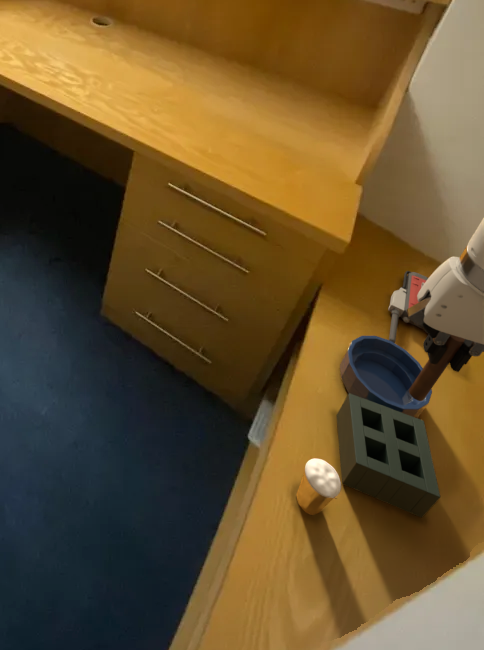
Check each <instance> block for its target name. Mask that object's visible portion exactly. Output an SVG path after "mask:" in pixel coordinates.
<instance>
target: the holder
mask: <svg viewBox="0 0 484 650" xmlns="http://www.w3.org/2000/svg"><path fill="white" fill-rule="evenodd" d="M336 425H337V427H336V428H337V436H338V437H337V439H338V449H339V461H340V463H339V464H340V473H341V485H344V486H347V487H348V488H351V489H353V490H355V491H358V492H360V493H362V494H365V495H368V496H370V497H371V498H374V499H377V500H379V501H381V502H384V503H386V504H389V505H391V506H394V507H395V508H398V509H400V510H402V511H405V512H407V513H409V514H412V515H414V516H416V517H419V518H423V517H424V516H425V515H426V514H427V513H428V512H429V511H430V510H431V508H433V506H434V505H435V504H436V503H437V502H438V501H439V499H440V498H441V493H440V489H439V483H438V479H437V475H436V470H435V466H434V462H433V456H432V452H431V447H430V443H429V442H430V441H429V438H428V434H427V428H426V424H425V420H423V419H420V418H419V417H418V418H415V417H412V416H409V415H407V414H404V413H401V412H399V411H396V410H393V409H391V408H388V407H385V406H383V405H380V404H377V403H375V402H372V401H369V400H366V399H364V398H361V397H358V396H355V395H353V394H350V393H348V394H347V396H346V398H345V399H344V401H343V403H342V404H341V406H340V408H339V409H338V412H337V413H336Z"/></svg>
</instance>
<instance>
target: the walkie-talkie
mask: <svg viewBox="0 0 484 650" xmlns="http://www.w3.org/2000/svg"><path fill="white" fill-rule="evenodd" d="M428 278H429V277H428V276H425V275H424V274H421V273H418V272H415V271H410V270H406V271H405V272H404V274H403V282H402V286H401V287H400V288H399V289H397V290H394V291H393V293H392V294H391V296H390V301H389V306H388V312H390V313H391V321H390V328H389V334H388V335H389V336H388V340H390V341H392V342H393V343H395V344H396V342H397V340H396V339H397V334H398V333H397V331H398V323H399V318H401V320H403V322H404V323H406V324H407V323H409V324H411V325H413V326H415V327H418V328H420V329H422V330H423V331H424V332H425V333H426V334H428V333H427V331H426V330H425V329H424V327H423V326H420V325H418V324H417V323H415V322H413V321H411V320H410V319H409V318H408V313H407V309H408V308H410V307H412V306H413V305H415V304H417V303H419V302H418V299H417V295H418V293H419V291H420V289H421V288H422V286H423V285H424V284H425V282H426V281H427V280H428Z"/></svg>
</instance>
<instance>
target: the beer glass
mask: <svg viewBox="0 0 484 650" xmlns="http://www.w3.org/2000/svg"><path fill="white" fill-rule="evenodd" d="M341 491H342V481H341V479H340V476H339V473H338V472H337V471H336V469H335V467H334V466H332V465H331V464H330V463H328V462H327V461H326V460H325V459H321V458H314V457H313V458H310V459H309V460H308V461H307V462H306V463H305V467H304V470H303V473H302V477H301V481H300V483H299V486H298V489H297V492H296V494H295V496H296V500H297V504H298V506H299V507H300V508H301V509H302V511H303V512H305V513H306V514H309V515H311V516H314V515H318V514H319V513H321V512H322V511H323V510H324V509H325V508H326V507H327V505H329V504H330V503H331V502H332V501H333V500H336V499H338V498H337V497H338V496H339V495H340V493H341Z"/></svg>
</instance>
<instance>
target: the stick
mask: <svg viewBox="0 0 484 650" xmlns="http://www.w3.org/2000/svg"><path fill="white" fill-rule="evenodd" d="M464 341H465V339H464V338H461V337H457V336H454V335H450V337H449V338H448V340H447V341H446V343H445V344H446V347H447V350H446V352H445V353H444V355H443V356H442V358H441V359H440V361H439V362H438V364H432V363H430V361H429V359H428V360H427V362H426V363H425V365H424V366H423V367H422V368H423V369H422V371H421V372H420V374H419V375H418V377H417V378H416V380H415V381H414V383H413V384H412V386H411V387H410V389H409V393H410V395H411V396H412V397H413V398H414V399H416V400H418V401H423V400H424V398H425V397H426V396H427V394H428V393H429V391H430V390H431V389H432V388H433V387H434V386H435V384H436V383H437V382H438V380H439V379H440V377H441V376H442V374H443V373H444V371H445V370H446V369H447V367H448V366H449V365H450V361H451V360H452V359H453V357H454V356H455V354H456V353H457V351H458V350H459V349H460V347H461V346H462V344H463V343H464Z"/></svg>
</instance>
